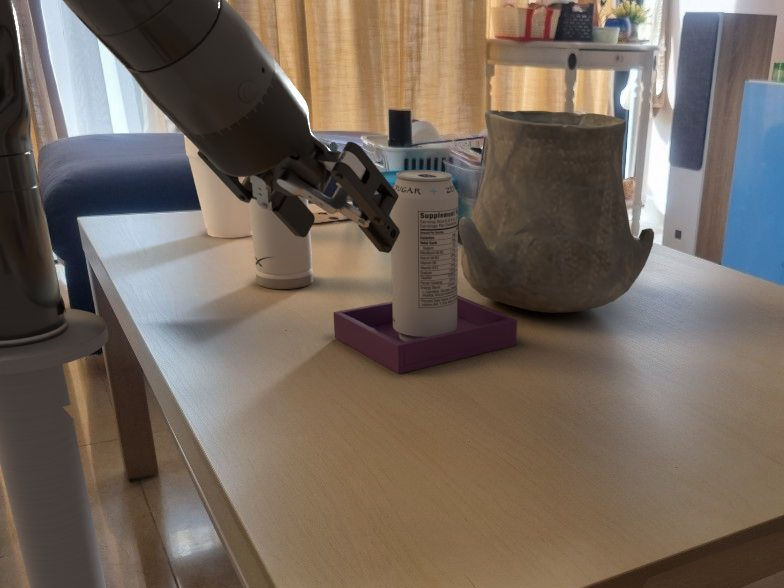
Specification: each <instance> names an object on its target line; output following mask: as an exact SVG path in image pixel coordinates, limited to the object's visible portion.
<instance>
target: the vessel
mask: <svg viewBox="0 0 784 588" xmlns="http://www.w3.org/2000/svg"><path fill="white" fill-rule="evenodd" d="M484 120H485V125H486V132H487V152H486V160H485V170H484V175H483V178H482V181H481V185H480V187H479V192H478V195H477V199H476V202H475V205H474V208H473V211H472V213H471V216H470V217H468V216H465V215H463V216H462V217H461V218H459V220H458V235H459V238H460V240H461V243H462V248H461V252H460V265H461V269H462V274H463V277H464V278H465V280H466V281H467V283H468V284H469V286H470V287H471V288H472V289H473V290H475V291H476V292H477V293H478V294H479V295H480V296H483V297H484V298H487V299H489V300H492V301H496V302H499V303H502V304H504V305H508V306H512V307H515V308H518V309H523V310H527V311H533V312H539V313H540V312H541V313H548V314H549V313H550V314H559V313H561V314H563V313H565V314H566V313H576V312H583V311H588V310H592V309H596V308H600V307H603V306H605V305H608V304H610V303H613V302H615V301H616V300H617V299H619V298H621V297H622V296H623V295H625V294H626V293H628V291H629V290H630V289H631V287H632V286H633V285H634V284H635V282H636V281H637V279H638V277H640V274H641V273H642V271H643V269H644V268H645V266H646V264H647V261H648V260H649V257H650V255H651V251H652V249H653V246H654V240H655V231H654V229H653V228H651V227H650V228H648V227H647V228H644V229H641V231H640V233H639V236H638V237H635V236H634V235H633V233H632V230H631V226H630V220H629V212H628V208H627V207H628V206H627V202H626V196H625V189H624V188H625V187H624V181H623V146H624V139H625V134H626V130H627V120H626V119H623V118H619V117H615V116H613V115H606V114H601V113H591V112H590V113H589V112H588V113H587V112H586V113H580V114H579V113H575V112H568V111H548V110H516V111H513V110H512V111H511V110H500V111H499V110H498V109H497V110H495V109H493V110H491V109H490V110H486V111H485V113H484Z"/></svg>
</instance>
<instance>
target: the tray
mask: <svg viewBox="0 0 784 588" xmlns="http://www.w3.org/2000/svg"><path fill="white" fill-rule="evenodd" d="M332 313H333V314H332V315H333V330H334V331H333V332H334V339H336V340H338V341H339V342H341V343H343V344H345V345H347V346H348V347H350V348H351V349H353V350H356V351H358V352H359V353H361V354H362V355H364V356H366V357H367V358H369V359H372V360H373V361H375V362H376V363H378V364H380V365H382V366H384V367H385V368H388V370H391V371H393V372H395V373H396V374H398V375H400V374H404V373H408V372H412V371H417V370H421V369H424V368H428V367H433V366H436V365H437V366H438V365H440V364H446V363H449V362H453V361H457V360H461V359H465V358H469V357H474V356H478V355H481V354H486V353H489V352H494V351H498V350H502V349H505V348H510V347H513V346H517V336H518V335H517V331H518V319H517V318H514V317H513V316H509V315H507V314H505V313H503V312H500V311H498V310H495V309H492V308H490V307H488V306H485V305H483V304H481V303H479V302H476V301H473V300H471V299H468V298H466V297H463V296H460V295H459V294H457V329H456V330H455V331H452V332H447V333H443V334H438V335H433V336H429V337H424V338H420V339H415V340H411V341H406V342H405V341H403V340H401V339H400V337H399V333H398V332H397V331H396V330H395V329H394V328H393V307H392V301H386V302H381V303H375V304H371V305H365V306H359V307H353V308H348V309H343V310H337V311H333V312H332Z"/></svg>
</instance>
